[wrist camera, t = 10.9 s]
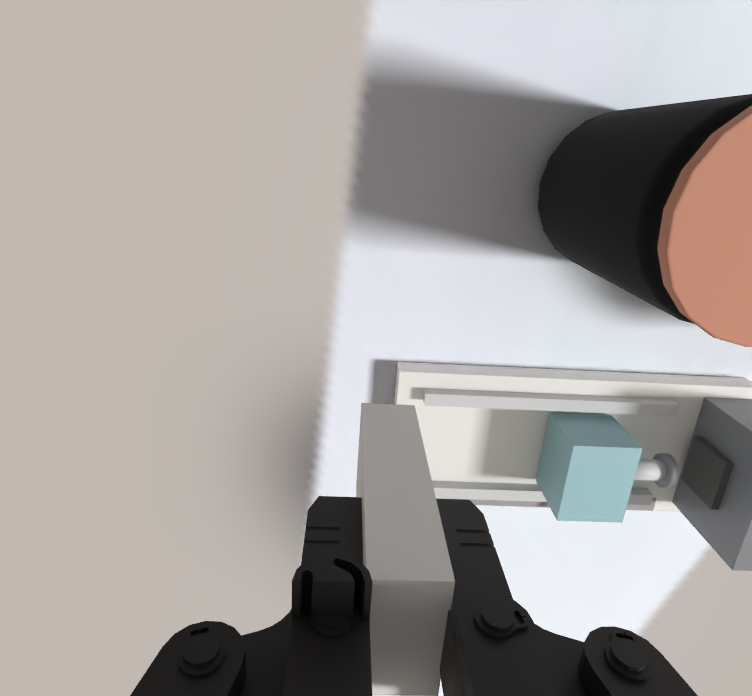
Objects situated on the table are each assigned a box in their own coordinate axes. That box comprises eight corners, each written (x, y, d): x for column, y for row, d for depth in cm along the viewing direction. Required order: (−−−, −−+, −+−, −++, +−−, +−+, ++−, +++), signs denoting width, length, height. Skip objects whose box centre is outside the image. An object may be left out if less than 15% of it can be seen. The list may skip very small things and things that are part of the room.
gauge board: (397, 361, 43) (409, 421, 34) (745, 378, 45) (848, 439, 36) (386, 488, 47) (394, 573, 38) (704, 498, 49) (787, 582, 40)
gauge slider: (549, 412, 43) (573, 445, 38) (659, 417, 43) (696, 450, 39) (530, 508, 46) (550, 549, 41) (633, 511, 46) (664, 552, 42)
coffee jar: (564, 289, 42) (707, 388, 25) (508, 160, 38) (631, 174, 21) (697, 220, 40) (945, 277, 23) (652, 80, 37) (906, 27, 20)
